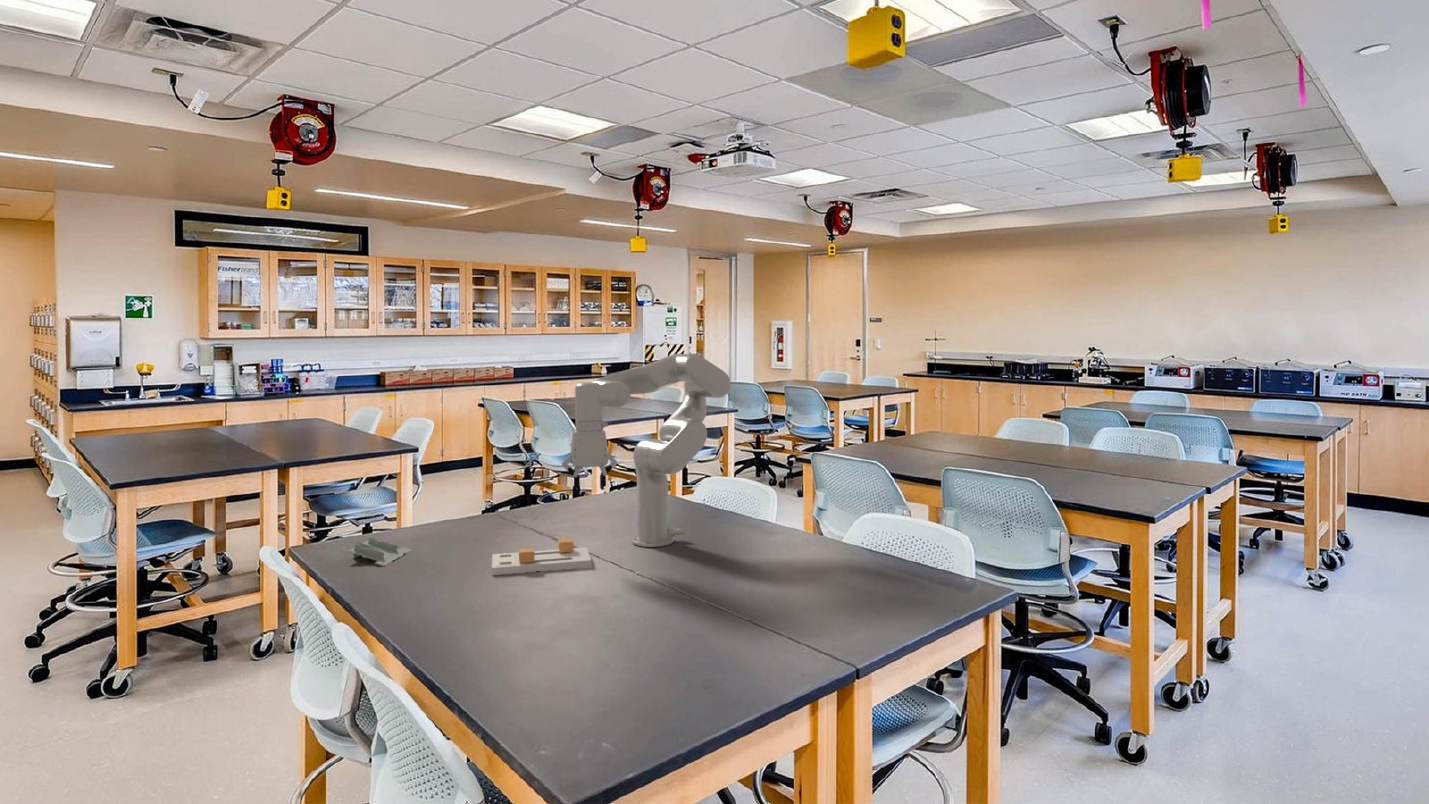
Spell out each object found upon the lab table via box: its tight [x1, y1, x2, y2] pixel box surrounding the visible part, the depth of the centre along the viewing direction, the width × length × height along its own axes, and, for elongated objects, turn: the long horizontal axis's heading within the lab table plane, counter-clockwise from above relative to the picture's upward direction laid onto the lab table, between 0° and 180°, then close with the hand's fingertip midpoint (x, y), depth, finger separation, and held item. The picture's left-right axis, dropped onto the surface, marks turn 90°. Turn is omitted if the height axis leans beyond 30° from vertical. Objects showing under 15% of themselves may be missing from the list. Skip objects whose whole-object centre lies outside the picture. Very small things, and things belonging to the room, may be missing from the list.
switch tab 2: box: [557, 538, 575, 553], centre depth 215 cm, size 4×4×3 cm
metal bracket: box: [347, 536, 412, 567], centre depth 216 cm, size 14×6×15 cm
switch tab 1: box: [518, 547, 535, 563], centre depth 205 cm, size 4×4×3 cm
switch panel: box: [491, 547, 592, 576], centre depth 210 cm, size 26×13×2 cm, turn 106°
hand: (590, 489), depth 216 cm, fingers open, 6 cm apart
